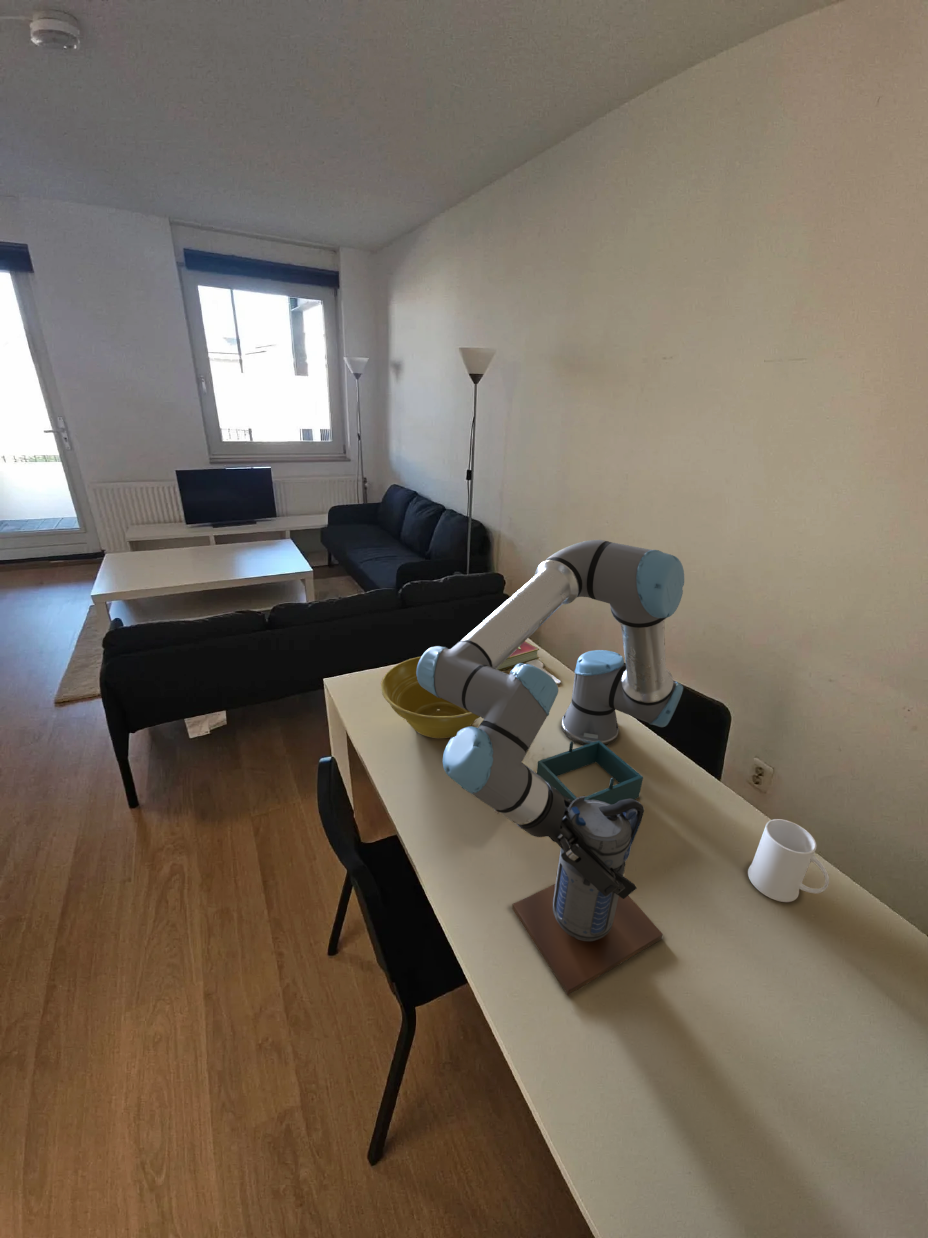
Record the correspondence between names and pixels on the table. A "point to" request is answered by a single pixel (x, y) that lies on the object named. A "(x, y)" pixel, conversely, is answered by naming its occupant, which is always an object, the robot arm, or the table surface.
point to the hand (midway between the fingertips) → (612, 862)
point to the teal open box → (588, 755)
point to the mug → (784, 861)
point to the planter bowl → (422, 703)
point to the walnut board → (584, 958)
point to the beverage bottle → (611, 842)
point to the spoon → (540, 666)
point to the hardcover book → (520, 656)
